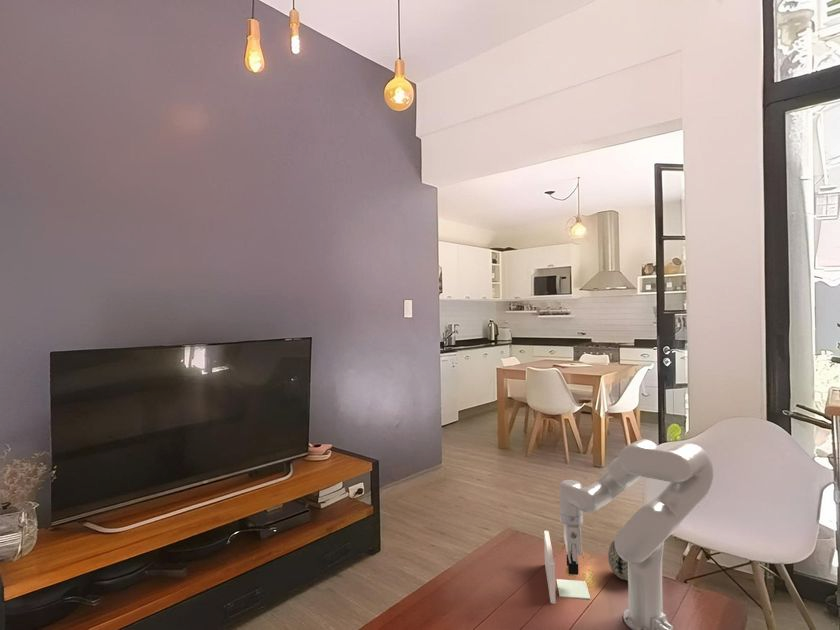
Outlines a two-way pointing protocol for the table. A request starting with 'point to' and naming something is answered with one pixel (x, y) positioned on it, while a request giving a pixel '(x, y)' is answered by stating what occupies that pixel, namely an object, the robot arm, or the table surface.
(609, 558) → the decorative egg
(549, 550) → the screen
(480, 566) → the table surface
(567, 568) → the figurine
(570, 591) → the mat
